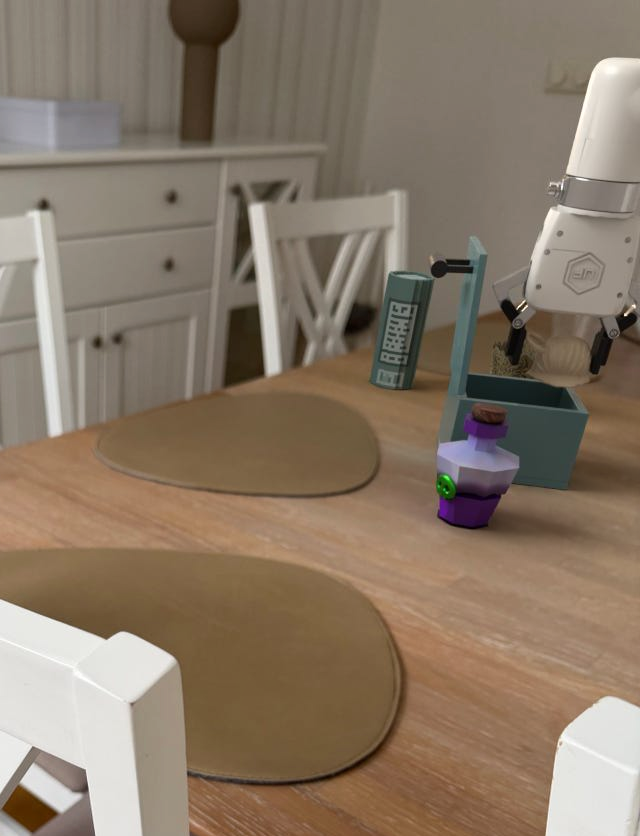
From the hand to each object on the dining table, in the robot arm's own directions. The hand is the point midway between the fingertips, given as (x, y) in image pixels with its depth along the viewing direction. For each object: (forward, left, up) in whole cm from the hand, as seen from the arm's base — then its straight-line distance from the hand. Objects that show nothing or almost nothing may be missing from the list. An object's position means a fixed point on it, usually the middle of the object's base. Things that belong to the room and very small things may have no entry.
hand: (552, 366), depth 110 cm
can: (+15, -29, -12) cm, 35 cm away
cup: (-1, -25, -12) cm, 28 cm away
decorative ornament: (0, 0, -2) cm, 2 cm away
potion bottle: (+9, +18, -12) cm, 23 cm away
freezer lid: (+10, 0, +5) cm, 11 cm away
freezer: (+3, 0, -12) cm, 12 cm away
